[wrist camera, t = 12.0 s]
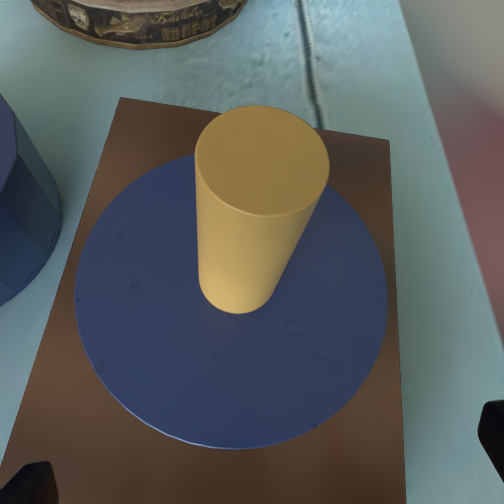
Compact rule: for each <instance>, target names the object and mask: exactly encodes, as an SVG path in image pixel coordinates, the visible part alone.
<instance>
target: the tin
mask: <svg viewBox="0 0 504 504" xmlns="http://www.w3.org/2000/svg"><path fill="white" fill-rule="evenodd" d="M61 219H62V210H61V201H60V196H59V193H58V190H57V188H56V183H55V180H54V179H53V177H52V175H51V174H50V172H49V170H48V168H47V167H46V165H45V163H44V162H43V160H42V158H41V157H40V155H39V153H38V152H37V150H36V148H35V147H34V145H33V143H32V142H31V140H30V138H29V137H28V135H27V133H26V132H25V130H24V128H23V126H22V125H21V123H20V121H19V120H18V118H17V116H16V115H15V113H14V112H13V110H12V109H11V107H10V106H9V105H8V103H7V102H6V101H5V99H4V98H3V96H2V95H1V94H0V306H1V305H3V304H4V303H6V302H7V301H9V300H10V299H12V298H13V297H14V296H16V295H17V294H18V293H19V292H20V291H22V290H23V289H24V288H25V287H26V286H27V285H28V284H29V283H30V282H31V281H32V280H33V279H34V278H35V277H36V276H37V274H38V273H39V272H40V270H41V269H42V268H43V266H44V265H45V264H46V262H47V260H48V259H49V257H50V255H51V253H52V251H53V249H54V247H55V244H56V242H57V239H58V235H59V232H60V228H61Z"/></svg>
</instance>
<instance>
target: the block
mask: <svg viewBox="0 0 504 504" xmlns="http://www.w3.org/2000/svg"><path fill="white" fill-rule="evenodd" d="M221 114H222V113H218V112H211V111H205V110H199V109H193V108H187V107H180V106H174V105H168V104H162V103H155V102H149V101H143V100H137V99H130V98H124V97H120V99H119V102H118V105H117V108H116V111H115V115H114V118H113V121H112V124H111V127H110V130H109V133H108V136H107V139H106V142H105V145H104V148H103V152H102V155H101V158H100V161H99V164H98V167H97V170H96V173H95V176H94V179H93V182H92V185H91V189H90V192H89V195H88V198H87V201H86V204H85V207H84V210H83V213H82V216H81V219H80V222H79V226H78V229H77V232H76V235H75V238H74V241H73V244H72V247H71V250H70V253H69V256H68V259H67V263H66V266H65V269H64V272H63V275H62V278H61V281H60V284H59V287H58V290H57V293H56V296H55V300H54V303H53V306H52V309H51V312H50V315H49V318H48V321H47V324H46V327H45V330H44V334H43V337H42V340H41V343H40V346H39V349H38V352H37V355H36V358H35V361H34V364H33V367H32V371H31V374H30V377H29V380H28V383H27V386H26V389H25V392H24V395H23V398H22V401H21V404H20V408H19V411H18V414H17V417H16V420H15V423H14V426H13V429H12V432H11V435H10V438H9V441H8V445H7V448H6V451H5V454H4V457H3V460H2V463H1V466H0V489H1V488H2V487H3V486H4V485H5V484H6V483H7V482H8V481H9V480H10V479H11V478H12V477H13V476H14V475H15V473H16V472H17V471H18V470H19V469H20V468H21V467H22V466H24V465H25V464H27V463H30V462H38V461H45V460H46V461H49V462H50V463H51V464H52V467H53V471H54V475H55V479H56V483H57V487H58V492H59V502H58V504H406V483H405V461H404V440H403V419H402V398H401V376H400V355H399V334H398V313H397V291H396V270H395V249H394V228H393V206H392V185H391V164H390V143H389V140H386V139H380V138H374V137H367V136H361V135H355V134H349V133H342V132H336V131H330V130H324V129H317V128H313V129H314V130H315V131H316V132H317V134H318V135H319V136H320V138H321V139H322V141H323V143H324V145H325V147H326V150H327V153H328V157H329V163H330V171H329V178H328V181H327V184H328V185H330V186H331V187H332V188H334V189H335V190H336V191H337V192H338V193H339V194H340V195H341V196H342V197H343V198H344V199H345V200H346V201H347V202H348V203H349V204H350V205H351V206H352V208H353V209H354V210H355V211H356V212H357V213H358V215H359V216H360V218H361V219H362V221H363V222H364V224H365V225H366V227H367V228H368V230H369V232H370V234H371V236H372V238H373V240H374V242H375V244H376V246H377V249H378V251H379V254H380V257H381V260H382V263H383V267H384V272H385V276H386V281H387V292H388V315H387V323H386V329H385V334H384V339H383V342H382V345H381V348H380V351H379V354H378V357H377V359H376V361H375V363H374V365H373V367H372V369H371V371H370V373H369V375H368V377H367V378H366V380H365V381H364V383H363V384H362V385H361V387H360V388H359V390H358V391H357V393H356V394H355V395H354V396H353V397H352V398H351V399H350V400H349V401H348V402H347V403H346V404H345V405H344V407H343V408H342V409H340V410H339V411H338V412H337V413H335V414H334V415H333V416H332V417H330V418H329V419H328V420H327V421H325V422H324V423H322V424H321V425H319V426H317V427H315V428H314V429H312V430H310V431H309V432H307V433H305V434H303V435H300V436H298V437H295V438H293V439H290V440H288V441H285V442H282V443H278V444H274V445H270V446H266V447H261V448H251V449H240V450H231V449H214V448H208V447H203V446H198V445H194V444H189V443H186V442H183V441H181V440H178V439H175V438H172V437H170V436H167V435H165V434H163V433H161V432H159V431H157V430H156V429H154V428H152V427H150V426H148V425H146V424H145V423H143V422H142V421H141V420H139V419H138V418H137V417H135V416H134V415H133V414H131V413H130V412H129V411H127V410H126V409H125V408H124V407H123V406H122V405H121V404H120V403H119V402H118V401H117V400H116V399H115V398H114V397H113V396H112V395H111V394H110V393H109V391H108V390H107V388H106V387H105V386H104V384H103V383H102V382H101V380H100V379H99V378H98V376H97V375H96V373H95V371H94V369H93V367H92V365H91V363H90V361H89V360H88V358H87V356H86V353H85V350H84V348H83V345H82V342H81V339H80V336H79V332H78V327H77V321H76V316H75V301H74V289H75V280H76V272H77V268H78V264H79V260H80V256H81V252H82V250H83V247H84V245H85V242H86V240H87V238H88V235H89V233H90V232H91V230H92V228H93V226H94V225H95V223H96V221H97V219H98V218H99V216H100V215H101V214H102V212H103V211H104V210H105V209H106V207H107V206H108V205H109V203H110V202H111V201H112V200H113V199H114V198H115V197H116V196H117V195H118V194H119V193H120V192H121V191H122V190H123V189H125V188H126V187H127V186H128V185H130V184H131V183H132V182H133V181H135V180H136V179H137V178H139V177H140V176H142V175H144V174H145V173H147V172H149V171H150V170H152V169H154V168H156V167H158V166H160V165H163V164H165V163H167V162H169V161H172V160H175V159H178V158H181V157H184V156H188V155H193V154H195V149H196V145H197V141H198V139H199V137H200V135H201V133H202V132H203V130H204V129H205V127H206V126H207V125H208V124H209V123H210V122H211V121H212V120H214V119H215V118H216V117H217V116H219V115H221Z"/></svg>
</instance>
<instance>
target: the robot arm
mask: <svg viewBox="0 0 504 504" xmlns="http://www.w3.org/2000/svg"><path fill="white" fill-rule="evenodd" d="M478 437H479V440H480V442H481V444H482V446H483V448H484V450H485V451H486V453H487V455H488V456H489V458H490V460H491V462H492V463H493V465H494V467H495V469H496V470H497V472H498V474H499V476H500V477H501V479H502V481H503V482H504V400H494V401H488V402H486V403H485V404H484V406H483V409H482V413H481V417H480V422H479V426H478ZM58 502H59V492H58V487H57V483H56V479H55V475H54V471H53V467H52V464H51V463H50V462H49V461H46V460H45V461H38V462H30V463H27V464H25V465H24V466H22V467H21V468H20V469H19V470H18V471H17V472H16V473H15V475H14V476H13V477H12V478H11V479H10V480H9V481H8V482H7V483H6V484H5V485H4V486H3V487H2V488H1V489H0V504H58Z"/></svg>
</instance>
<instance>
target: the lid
mask: <svg viewBox="0 0 504 504" xmlns="http://www.w3.org/2000/svg"><path fill="white" fill-rule="evenodd" d="M329 171H330V163H329V157H328V153H327V150H326V147H325V145H324V143H323V141H322V139H321V138H320V136H319V135H318V134H317V132H316V131H315V130H314V129H313V128H312V127H311V126H310V125H309V124H308V123H306V122H305V121H304V120H302V119H301V118H299V117H297V116H296V115H294V114H292V113H290V112H287V111H285V110H282V109H279V108H275V107H270V106H260V105H252V106H243V107H238V108H235V109H232V110H229V111H227V112H224V113H222V114H221V115H219V116H217V117H216V118H215V119H214V120H212V121H211V122H210V123H209V124H208V125H207V126H206V127H205V129H204V130H203V132H202V133H201V135H200V137H199V139H198V141H197V145H196V149H195V154H193V155H188V156H184V157H181V158H178V159H175V160H172V161H169V162H167V163H165V164H163V165H160V166H158V167H156V168H154V169H152V170H150V171H149V172H147V173H145V174H144V175H142V176H140V177H139V178H137V179H136V180H135V181H133V182H132V183H131V184H130V185H128V186H127V187H126V188H125V189H123V190H122V191H121V192H120V193H119V194H118V195H117V196H116V197H115V198H114V199H113V200H112V201H111V202H110V203H109V205H108V206H107V207H106V209H105V210H104V211H103V212H102V214H101V215H100V216H99V218H98V219H97V221H96V223H95V225H94V226H93V228H92V230H91V232H90V233H89V235H88V238H87V240H86V242H85V245H84V247H83V250H82V252H81V256H80V260H79V264H78V268H77V272H76V280H75V289H74V301H75V316H76V321H77V327H78V332H79V336H80V339H81V342H82V345H83V348H84V350H85V353H86V356H87V358H88V360H89V361H90V363H91V365H92V367H93V369H94V371H95V373H96V375H97V376H98V378H99V379H100V380H101V382H102V383H103V384H104V386H105V387H106V388H107V390H108V391H109V393H110V394H111V395H112V396H113V397H114V398H115V399H116V400H117V401H118V402H119V403H120V404H121V405H122V406H123V407H124V408H125V409H126V410H127V411H129V412H130V413H131V414H133V415H134V416H135V417H137V418H138V419H139V420H141V421H142V422H143V423H145V424H146V425H148V426H150V427H152V428H154V429H156V430H157V431H159V432H161V433H163V434H165V435H167V436H170V437H172V438H175V439H178V440H181V441H183V442H186V443H189V444H194V445H198V446H203V447H208V448H214V449H231V450H240V449H251V448H261V447H266V446H270V445H274V444H278V443H282V442H285V441H288V440H290V439H293V438H295V437H298V436H300V435H303V434H305V433H307V432H309V431H310V430H312V429H314V428H315V427H317V426H319V425H321V424H322V423H324V422H325V421H327V420H328V419H329V418H330V417H332V416H333V415H334V414H335V413H337V412H338V411H339V410H340V409H342V408H343V407H344V405H345V404H346V403H347V402H348V401H349V400H350V399H351V398H352V397H353V396H354V395H355V394H356V393H357V391H358V390H359V388H360V387H361V385H362V384H363V383H364V381H365V380H366V378H367V377H368V375H369V373H370V371H371V369H372V367H373V365H374V363H375V361H376V359H377V357H378V354H379V351H380V348H381V345H382V342H383V339H384V334H385V329H386V323H387V315H388V292H387V281H386V276H385V272H384V267H383V263H382V260H381V257H380V254H379V251H378V249H377V246H376V244H375V242H374V240H373V238H372V236H371V234H370V232H369V230H368V228H367V227H366V225H365V224H364V222H363V221H362V219H361V218H360V216H359V215H358V213H357V212H356V211H355V210H354V209H353V208H352V206H351V205H350V204H349V203H348V202H347V201H346V200H345V199H344V198H343V197H342V196H341V195H340V194H339V193H338V192H337V191H336V190H335V189H334V188H332V187H331V186H330V185H328V184H327V181H328V178H329Z"/></svg>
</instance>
